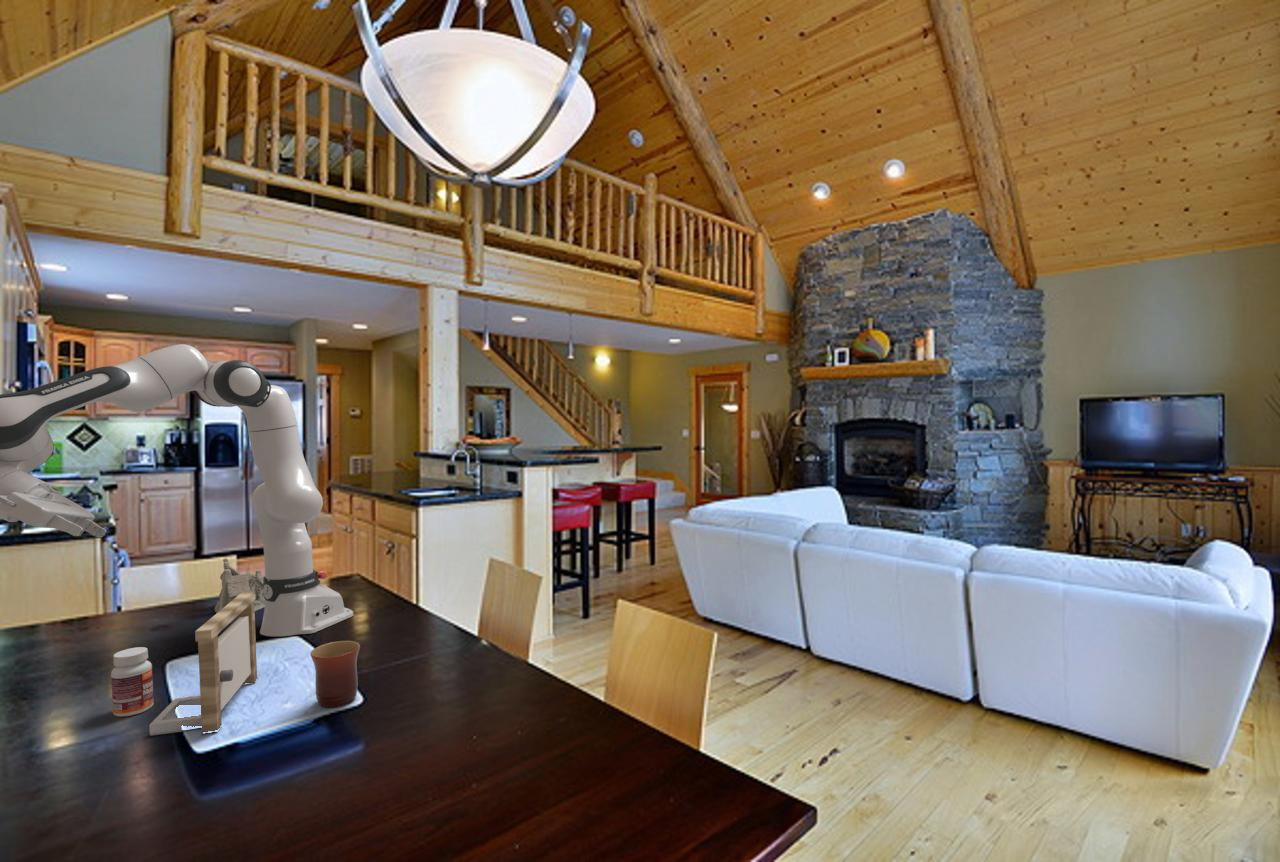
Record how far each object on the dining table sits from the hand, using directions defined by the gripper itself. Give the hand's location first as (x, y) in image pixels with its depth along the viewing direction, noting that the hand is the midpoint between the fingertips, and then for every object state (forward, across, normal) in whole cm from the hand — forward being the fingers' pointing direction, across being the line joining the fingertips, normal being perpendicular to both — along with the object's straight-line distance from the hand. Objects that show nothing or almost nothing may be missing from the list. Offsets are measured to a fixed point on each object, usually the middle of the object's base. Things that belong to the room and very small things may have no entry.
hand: (92, 533), depth 124 cm
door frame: (+41, -5, +15) cm, 44 cm away
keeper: (+37, -8, +19) cm, 42 cm away
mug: (+57, -9, +5) cm, 58 cm away
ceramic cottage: (+23, +64, +10) cm, 69 cm away
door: (+40, -6, +13) cm, 42 cm away
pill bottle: (+26, 0, +24) cm, 35 cm away
